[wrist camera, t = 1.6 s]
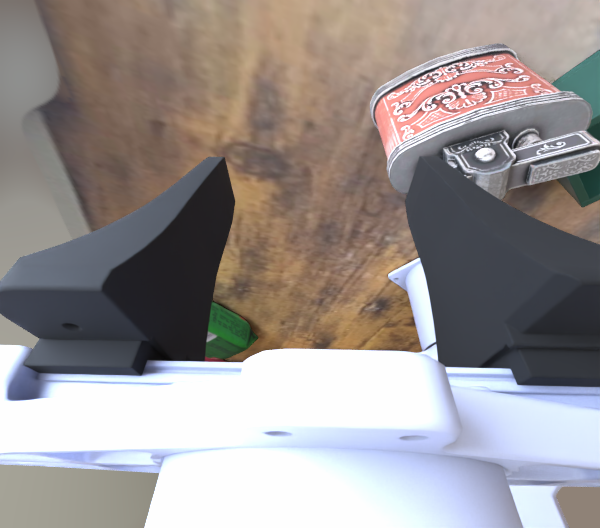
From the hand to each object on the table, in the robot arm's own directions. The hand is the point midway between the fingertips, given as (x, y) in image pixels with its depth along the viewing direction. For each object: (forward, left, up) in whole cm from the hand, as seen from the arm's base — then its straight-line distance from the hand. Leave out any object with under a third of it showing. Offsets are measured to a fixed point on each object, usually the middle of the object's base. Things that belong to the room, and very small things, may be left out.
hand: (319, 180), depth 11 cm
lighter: (-6, -5, -10) cm, 13 cm away
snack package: (-8, +29, -10) cm, 32 cm away
